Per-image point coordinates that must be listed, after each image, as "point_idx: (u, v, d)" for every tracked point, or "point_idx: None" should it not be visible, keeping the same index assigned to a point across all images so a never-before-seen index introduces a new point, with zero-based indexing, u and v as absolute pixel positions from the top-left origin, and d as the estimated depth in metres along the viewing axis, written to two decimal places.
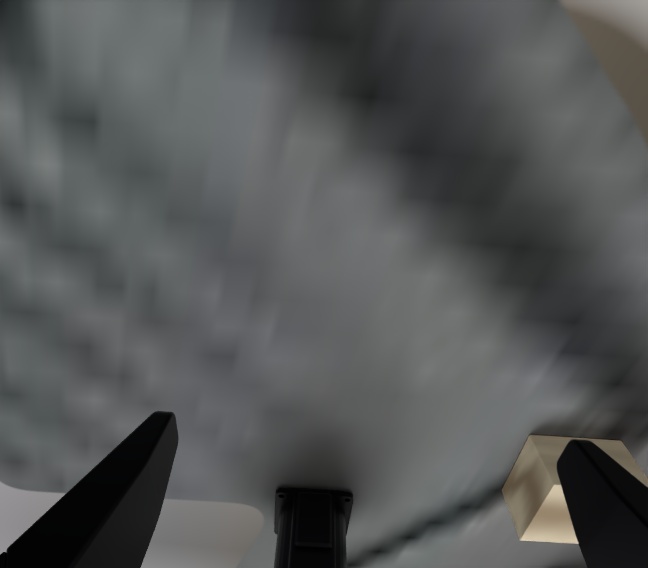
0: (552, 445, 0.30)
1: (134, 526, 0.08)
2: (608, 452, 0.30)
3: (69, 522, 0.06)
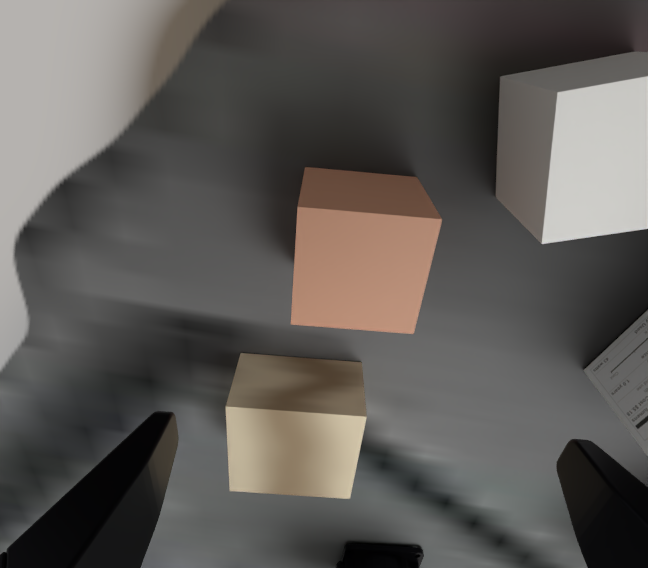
0: None
1: (134, 526, 0.08)
2: None
3: (69, 522, 0.06)
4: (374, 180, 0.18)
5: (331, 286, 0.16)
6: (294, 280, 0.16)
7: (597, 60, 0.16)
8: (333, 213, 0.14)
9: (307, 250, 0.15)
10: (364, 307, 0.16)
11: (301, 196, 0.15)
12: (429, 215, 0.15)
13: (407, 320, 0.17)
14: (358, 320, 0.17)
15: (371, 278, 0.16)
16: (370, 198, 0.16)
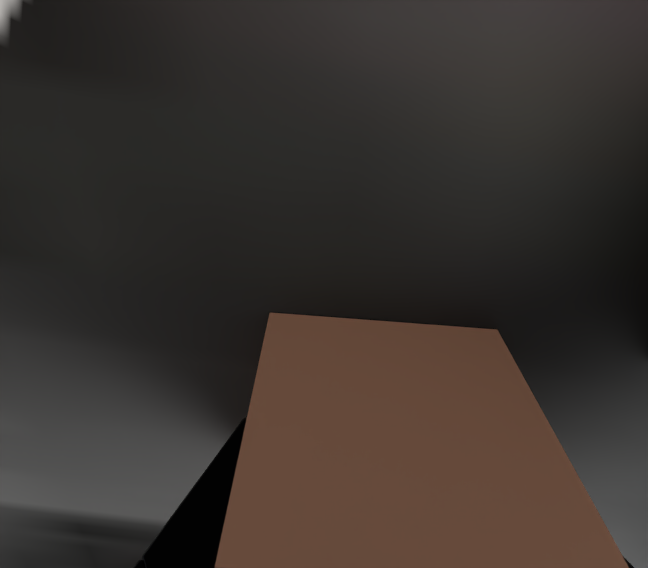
0: None
1: None
2: None
3: (195, 529, 0.06)
4: (416, 359, 0.08)
5: None
6: None
7: None
8: None
9: None
10: None
11: (238, 481, 0.06)
12: (597, 564, 0.05)
13: None
14: None
15: None
16: (418, 462, 0.06)
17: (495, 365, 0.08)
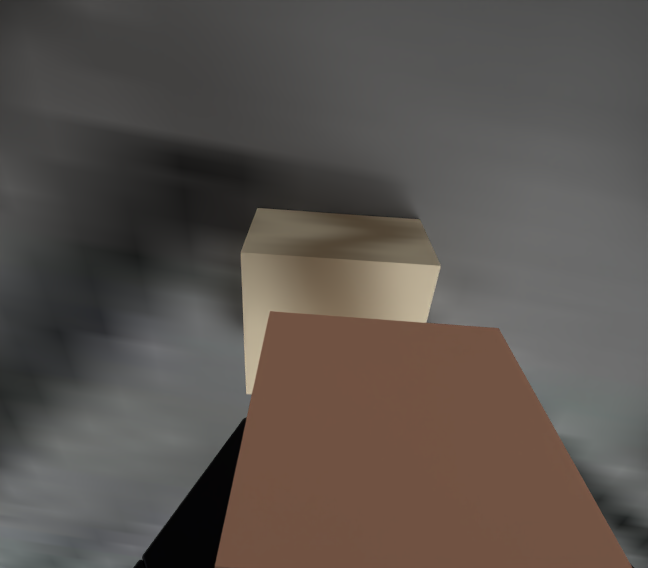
0: None
1: None
2: None
3: (195, 529, 0.06)
4: (417, 357, 0.08)
5: None
6: None
7: None
8: None
9: None
10: None
11: (238, 479, 0.06)
12: (600, 564, 0.05)
13: None
14: None
15: None
16: (419, 462, 0.06)
17: (496, 364, 0.08)
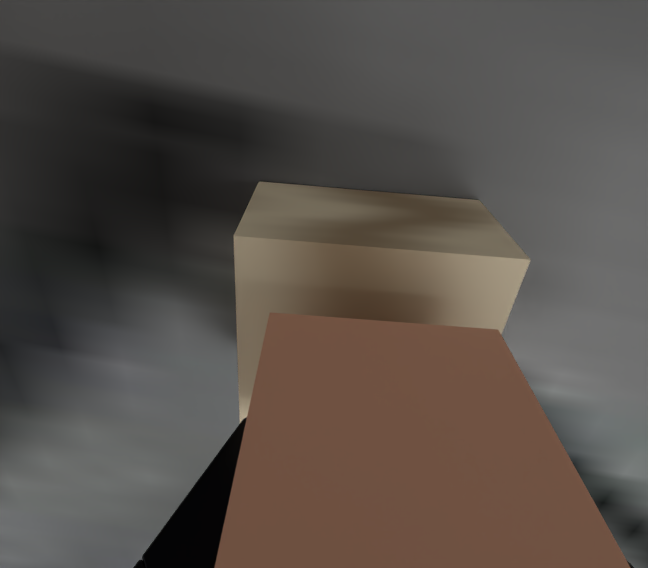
0: None
1: None
2: None
3: (195, 529, 0.06)
4: (416, 359, 0.08)
5: None
6: None
7: None
8: None
9: None
10: None
11: (238, 482, 0.06)
12: (599, 566, 0.05)
13: None
14: None
15: None
16: (419, 463, 0.06)
17: (496, 365, 0.08)
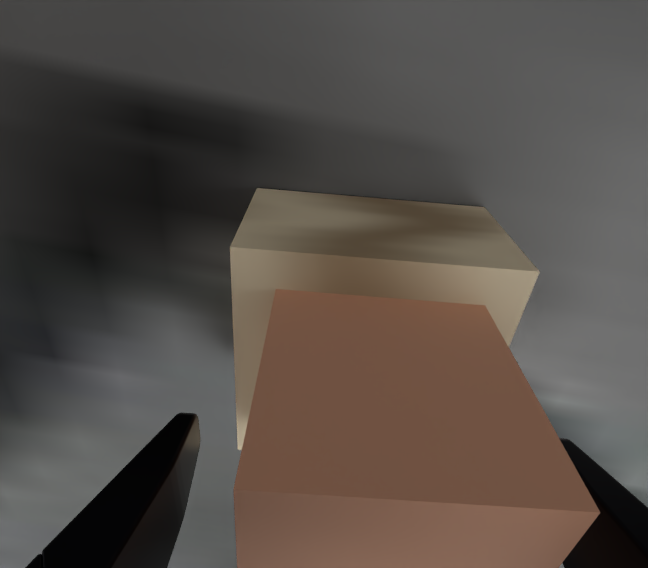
0: None
1: (162, 527, 0.08)
2: None
3: (102, 524, 0.06)
4: (409, 329, 0.09)
5: None
6: None
7: None
8: (326, 501, 0.06)
9: (266, 554, 0.06)
10: None
11: (251, 425, 0.06)
12: (563, 492, 0.06)
13: None
14: None
15: None
16: (410, 413, 0.07)
17: (482, 335, 0.09)
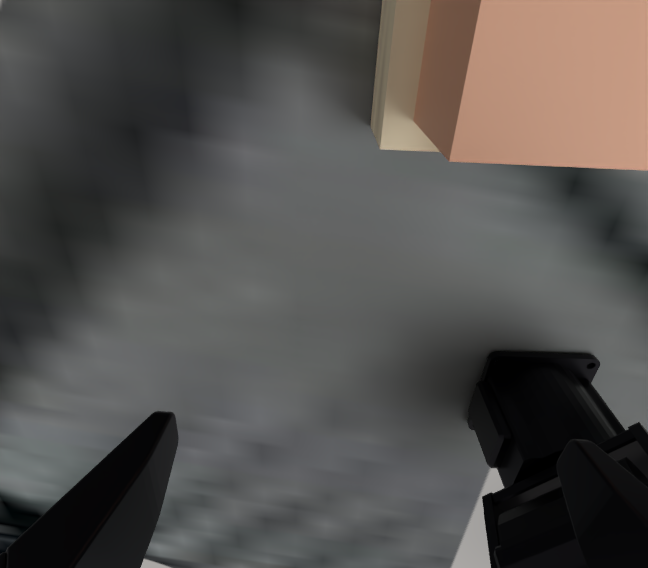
0: (375, 95, 0.17)
1: (134, 526, 0.08)
2: None
3: (69, 522, 0.06)
4: None
5: (533, 75, 0.09)
6: (470, 64, 0.09)
7: None
8: None
9: None
10: (582, 118, 0.10)
11: None
12: None
13: None
14: (565, 147, 0.10)
15: (609, 52, 0.09)
16: None
17: None
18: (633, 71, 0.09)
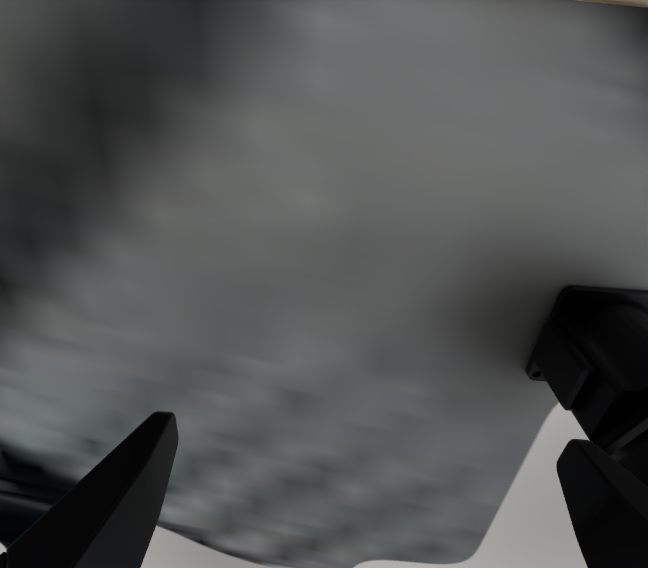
0: None
1: (134, 526, 0.08)
2: None
3: (69, 522, 0.06)
4: None
5: None
6: None
7: None
8: None
9: None
10: None
11: None
12: None
13: None
14: None
15: None
16: None
17: None
18: None
